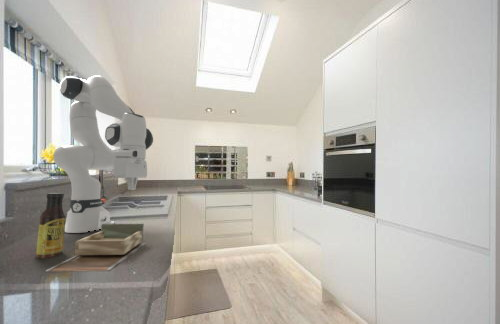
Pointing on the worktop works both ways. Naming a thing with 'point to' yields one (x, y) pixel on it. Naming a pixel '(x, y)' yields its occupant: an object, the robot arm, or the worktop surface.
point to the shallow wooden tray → (111, 240)
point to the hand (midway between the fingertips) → (131, 189)
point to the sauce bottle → (51, 227)
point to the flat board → (92, 262)
